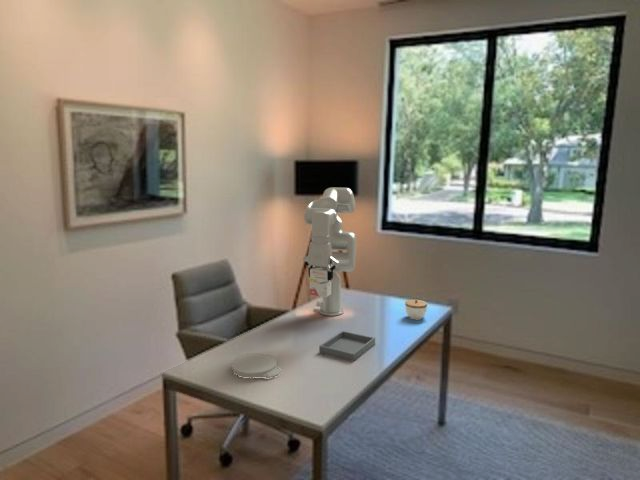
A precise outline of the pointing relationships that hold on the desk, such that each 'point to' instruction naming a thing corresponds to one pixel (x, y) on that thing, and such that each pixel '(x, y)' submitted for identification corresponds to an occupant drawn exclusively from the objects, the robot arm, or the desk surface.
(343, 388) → the desk surface
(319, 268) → the ink cartridge box
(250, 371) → the lid
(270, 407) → the desk surface
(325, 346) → the tray
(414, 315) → the lidded jar
